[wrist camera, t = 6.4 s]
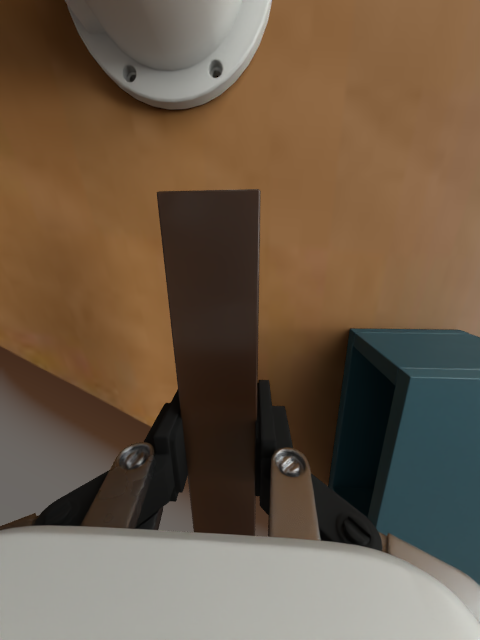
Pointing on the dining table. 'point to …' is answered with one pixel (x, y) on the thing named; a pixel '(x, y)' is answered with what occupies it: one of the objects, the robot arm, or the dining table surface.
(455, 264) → the dining table surface
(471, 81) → the dining table surface
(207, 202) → the stick
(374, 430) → the teal rectangular block
